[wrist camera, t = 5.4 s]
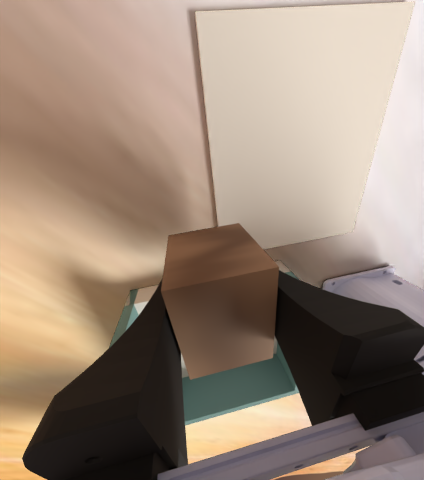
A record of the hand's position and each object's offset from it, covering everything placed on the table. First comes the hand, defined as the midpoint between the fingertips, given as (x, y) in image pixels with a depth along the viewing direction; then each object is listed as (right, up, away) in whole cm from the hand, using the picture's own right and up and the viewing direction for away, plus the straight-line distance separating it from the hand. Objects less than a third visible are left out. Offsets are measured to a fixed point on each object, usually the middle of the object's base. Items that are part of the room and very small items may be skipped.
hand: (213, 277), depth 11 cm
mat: (+7, +9, +3) cm, 12 cm away
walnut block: (0, 0, +1) cm, 1 cm away
